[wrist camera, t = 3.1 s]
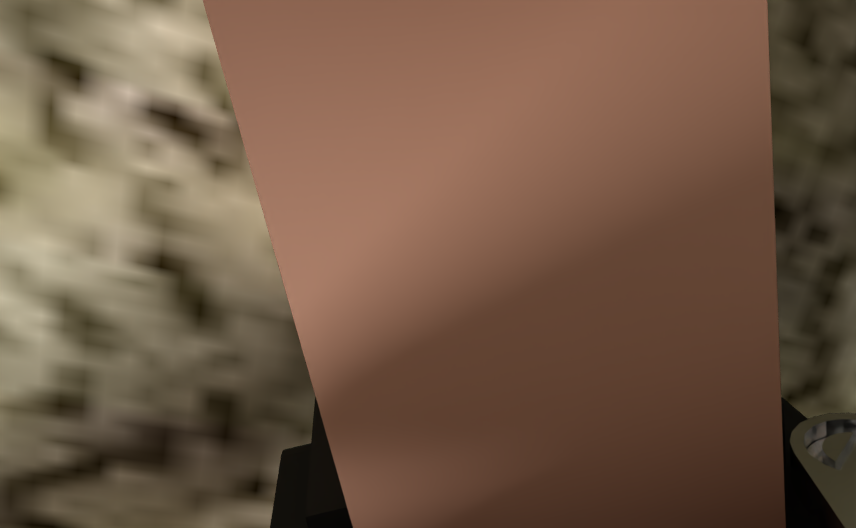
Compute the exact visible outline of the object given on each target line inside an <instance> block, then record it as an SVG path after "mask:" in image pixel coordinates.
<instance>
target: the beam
mask: <svg viewBox="0 0 856 528" xmlns="http://www.w3.org/2000/svg"><path fill="white" fill-rule="evenodd" d="M203 2H204V6H205V9H206V13H207V16H208V20H209V23H210V27H211V31H212V34H213V38H214V41H215V45H216V48H217V52H218V55H219V59H220V62H221V66H222V69H223V73H224V76H225V80H226V83H227V87H228V90H229V94H230V97H231V101H232V104H233V108H234V111H235V115H236V118H237V122H238V125H239V129H240V132H241V136H242V139H243V143H244V146H245V150H246V153H247V157H248V161H249V164H250V168H251V171H252V175H253V178H254V182H255V185H256V189H257V192H258V196H259V199H260V203H261V206H262V210H263V213H264V217H265V220H266V224H267V227H268V231H269V234H270V238H271V241H272V245H273V248H274V252H275V255H276V259H277V262H278V266H279V269H280V273H281V276H282V280H283V284H284V287H285V291H286V294H287V298H288V301H289V305H290V308H291V312H292V315H293V319H294V322H295V326H296V329H297V333H298V336H299V340H300V343H301V347H302V350H303V354H304V357H305V361H306V364H307V368H308V371H309V375H310V378H311V382H312V385H313V389H314V392H315V396H316V399H317V403H318V406H319V410H320V414H321V417H322V421H323V424H324V428H325V431H326V435H327V438H328V442H329V445H330V449H331V452H332V456H333V459H334V463H335V466H336V470H337V473H338V477H339V480H340V484H341V487H342V491H343V494H344V498H345V501H346V505H347V508H348V512H349V515H350V519H351V522H352V526H353V528H786V521H785V492H784V464H783V436H782V407H781V379H780V350H779V322H778V294H777V265H776V237H775V208H774V180H773V152H772V123H771V95H770V66H769V38H768V9H767V0H203Z"/></svg>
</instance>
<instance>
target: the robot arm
mask: <svg viewBox="0 0 856 528" xmlns="http://www.w3.org/2000/svg"><path fill="white" fill-rule="evenodd" d="M781 407H782V436H783V464H784V492H785V521H786V528H856V413H828V414H824V415H819V416H814V417H811V418H809V419H807V418H806V417H805V416H803V415H802V414H801V413H800V412H799V411H798V410H796V409H795V408H794V407H793V406H792V405H790V404H789V403H788V402H787V401H786V400H785V399H783V398H782V397H781ZM270 528H353V526H352V522H351V519H350V515H349V512H348V508H347V505H346V501H345V498H344V494H343V491H342V487H341V484H340V480H339V477H338V473H337V470H336V466H335V463H334V459H333V456H332V452H331V449H330V445H329V442H328V438H327V435H326V431H325V428H324V424H323V421H322V417H321V414H320V410H319V406H318V403H317V399H316V396H315V407H314V418H313V430H312V442H311V444H306V445H302V446H298V447H293V448H289V449H285V450H283V452H282V455H281V461H280V467H279V474H278V480H277V487H276V493H275V500H274V506H273V513H272V519H271V526H270Z"/></svg>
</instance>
